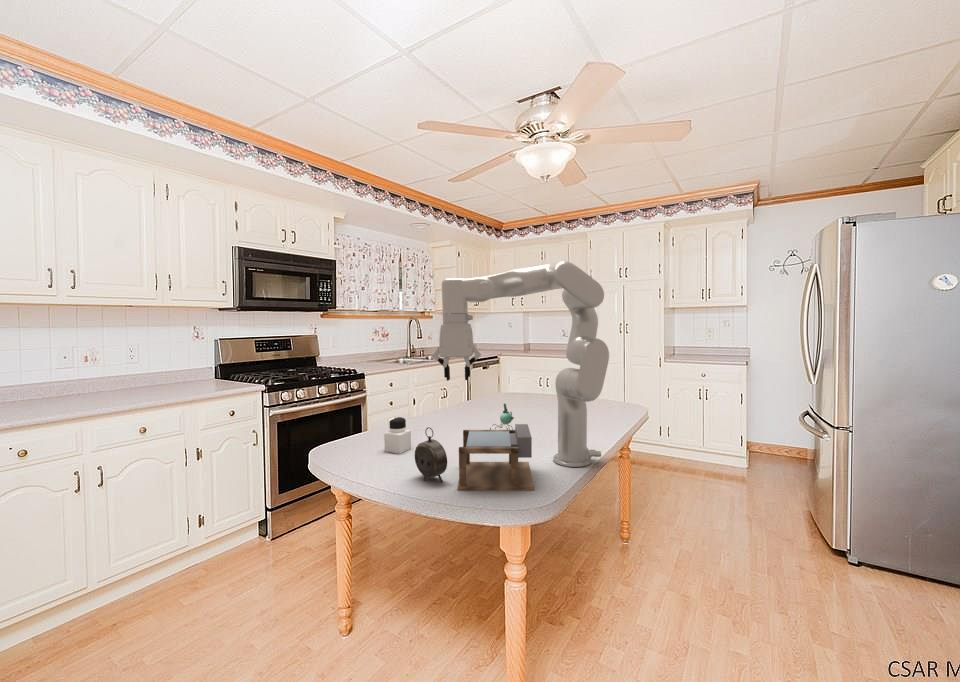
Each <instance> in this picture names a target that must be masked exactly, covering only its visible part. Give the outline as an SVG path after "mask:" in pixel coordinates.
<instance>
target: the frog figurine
mask: <svg viewBox="0 0 960 682" xmlns="http://www.w3.org/2000/svg"><path fill="white" fill-rule="evenodd" d="M503 409H504V410H503V411H502V413H501V414H500V425H498V424H497V423H493V424H492V425H491V426H492V427H494V425H495V426H496V427H495V428H494V430H497V427H499V428H500V429H503V427H505V428H506V430H514V428H513V425H510V423H512V421H513V420H514V419H515V417H514V416H513V412H512V411H510V412H509V411H508V408H507V404H506V403H503ZM506 425H507V426H506ZM492 427H489V430H492ZM510 427H511V429H510Z"/></svg>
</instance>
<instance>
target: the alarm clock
mask: <svg viewBox="0 0 960 682" xmlns="http://www.w3.org/2000/svg"><path fill="white" fill-rule="evenodd" d="M428 429H430V431H431V433H432V435H431V436H430V435H429V436H428V434H427V431H428ZM424 433H425V435H426V438H427V440H424V441H422V442H420V443H418V444H417V446H416V447H415V450H414V460H415V461H414V462H415V464H416V465H415V466H416V467H417V469H418V471H419V473H420V474H421V475H423V482H425V481H426V479H427V478H428V479H431V478H435V477H438V479H439V480H440V483H443V479H442V476H441V475H442V474H444V473H445V472H446V470H447V467H448V456H447V452H446V450H445V448H444V446H443V445H442V444H441V443H440V442H439V441H438V440H436V439H432V438H433V437H434V430H433V428H432V427H428V426H427V427H426V429H425V432H424Z"/></svg>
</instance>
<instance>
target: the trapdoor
mask: <svg viewBox="0 0 960 682" xmlns="http://www.w3.org/2000/svg"><path fill="white" fill-rule="evenodd" d="M514 430H515V433H509V431H469V435H468V440H467V445H466V447H518V459H521V458H522V459H523V458H525V459H527V458H528V459H529V458H530V459H531V458H532V452H533V451H532V449H533V448H532V445H533V444H532V443H533V441H532V435H531V431H530V426H529V424H528V423H515V424H514Z"/></svg>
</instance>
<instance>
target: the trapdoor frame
mask: <svg viewBox="0 0 960 682" xmlns="http://www.w3.org/2000/svg"><path fill="white" fill-rule="evenodd" d="M462 431H463V432H462V441H463V442H462V443H463V444H462V445H463V446H458V476H459V477H458V481H457V488H456V490H457V491H535V485H534V479H533V475H532V471H531V466H530V463H529V461H519V458H518V447H466V445H467V440H468V435H469V431H509V433H515V429H510V430H509V429H508V430H507V429H491V430H490V429H463V430H462ZM471 454H472V455H473V454H474V455H475V454H479V455H481V454H483V455H485V454H487V455H488V454H495V455H496V454H503V455H504V454H505V455H506V454H508V461H470V460H471V458H470V457H471V456H470V455H471Z"/></svg>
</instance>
